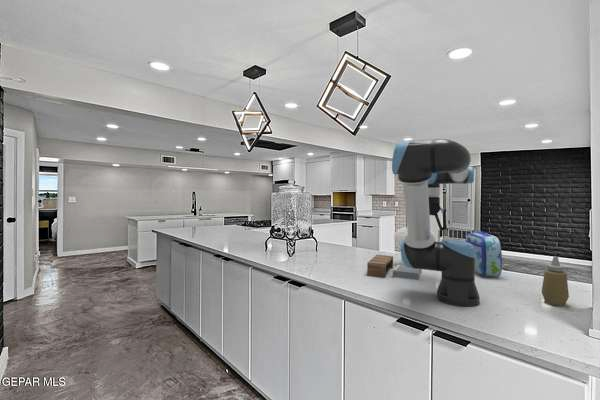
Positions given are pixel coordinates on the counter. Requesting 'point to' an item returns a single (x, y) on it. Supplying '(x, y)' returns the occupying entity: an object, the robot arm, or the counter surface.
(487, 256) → the lunch box
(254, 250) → the counter surface
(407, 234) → the heart
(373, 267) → the walnut tunnel
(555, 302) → the squeeze bottle
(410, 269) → the panel
